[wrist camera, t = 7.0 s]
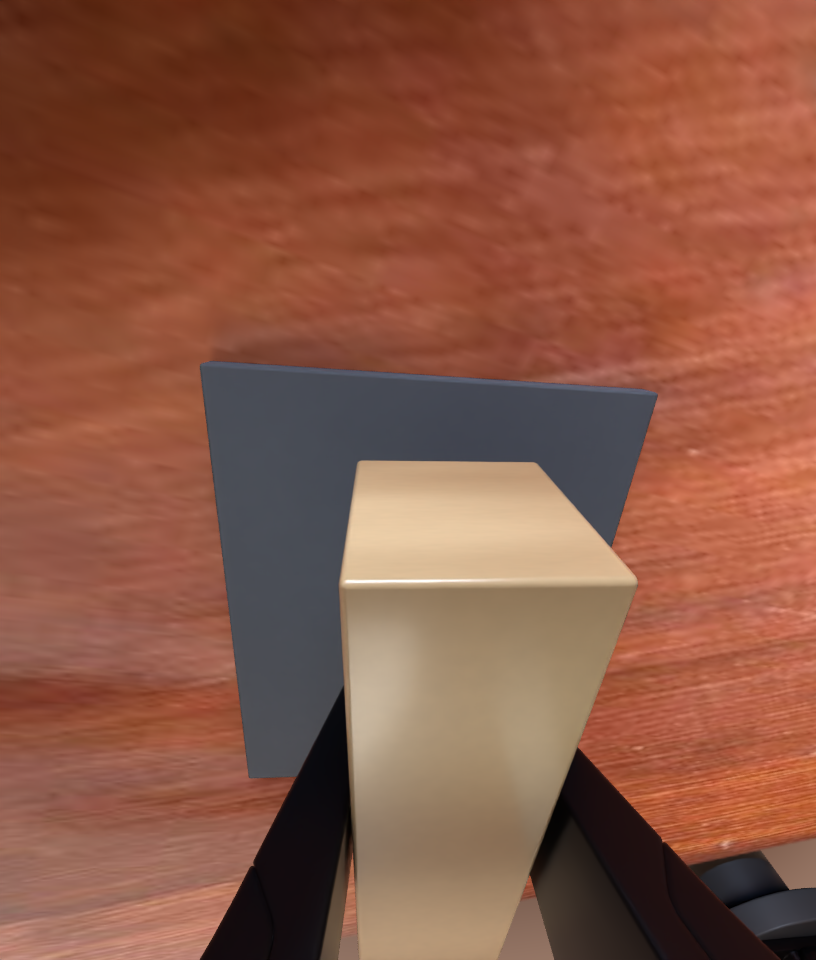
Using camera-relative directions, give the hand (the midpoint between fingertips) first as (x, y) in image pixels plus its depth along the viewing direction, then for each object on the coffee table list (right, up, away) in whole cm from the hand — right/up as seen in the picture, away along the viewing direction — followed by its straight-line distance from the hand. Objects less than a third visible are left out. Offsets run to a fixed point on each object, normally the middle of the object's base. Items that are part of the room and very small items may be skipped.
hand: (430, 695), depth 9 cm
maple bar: (0, 0, 0) cm, 0 cm away
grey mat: (0, +1, +3) cm, 3 cm away
